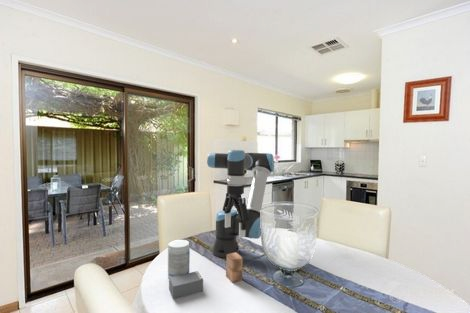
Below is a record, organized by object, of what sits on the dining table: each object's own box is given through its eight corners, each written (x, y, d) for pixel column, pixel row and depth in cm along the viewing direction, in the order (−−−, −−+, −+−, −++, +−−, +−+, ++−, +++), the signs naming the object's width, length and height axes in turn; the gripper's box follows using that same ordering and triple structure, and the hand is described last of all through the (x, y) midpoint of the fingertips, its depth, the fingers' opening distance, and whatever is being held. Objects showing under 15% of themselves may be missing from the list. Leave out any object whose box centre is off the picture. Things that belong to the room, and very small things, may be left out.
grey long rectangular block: (197, 282, 102) (197, 270, 101) (202, 291, 95) (203, 278, 95) (169, 289, 96) (169, 276, 96) (172, 299, 90) (173, 285, 90)
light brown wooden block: (235, 273, 110) (236, 252, 109) (242, 280, 104) (242, 257, 104) (226, 275, 107) (226, 254, 107) (231, 282, 102) (232, 259, 102)
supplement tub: (192, 277, 106) (193, 244, 105) (171, 283, 100) (172, 249, 100) (184, 268, 114) (185, 237, 113) (164, 273, 108) (165, 241, 108)
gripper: (216, 181, 114) (215, 224, 115) (242, 189, 92) (241, 243, 93) (230, 180, 118) (229, 222, 119) (258, 188, 96) (256, 240, 97)
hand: (234, 231), depth 106 cm, fingers open, 13 cm apart
